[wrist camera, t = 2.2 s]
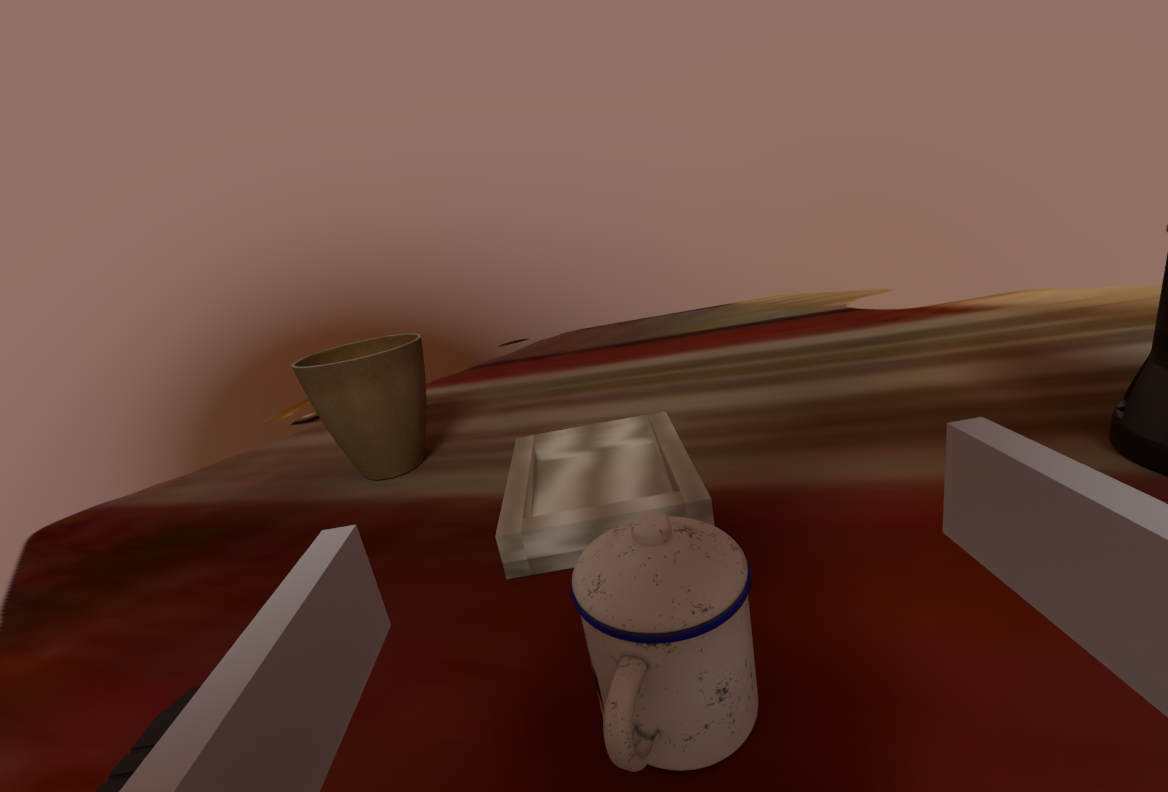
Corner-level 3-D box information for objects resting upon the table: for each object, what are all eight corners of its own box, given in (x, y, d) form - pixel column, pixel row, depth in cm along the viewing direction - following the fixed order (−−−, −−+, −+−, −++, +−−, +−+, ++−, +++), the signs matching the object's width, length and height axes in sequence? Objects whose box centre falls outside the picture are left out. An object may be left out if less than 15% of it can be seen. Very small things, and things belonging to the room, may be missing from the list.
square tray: (669, 443, 62) (665, 411, 61) (716, 542, 43) (711, 498, 42) (523, 469, 63) (516, 438, 62) (506, 579, 44) (495, 536, 43)
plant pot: (457, 471, 66) (421, 343, 61) (327, 509, 62) (278, 376, 57) (448, 432, 79) (419, 325, 74) (342, 461, 76) (303, 351, 71)
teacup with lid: (630, 627, 36) (601, 472, 33) (773, 654, 32) (758, 479, 29) (545, 805, 26) (490, 609, 23) (738, 876, 22) (708, 650, 19)
